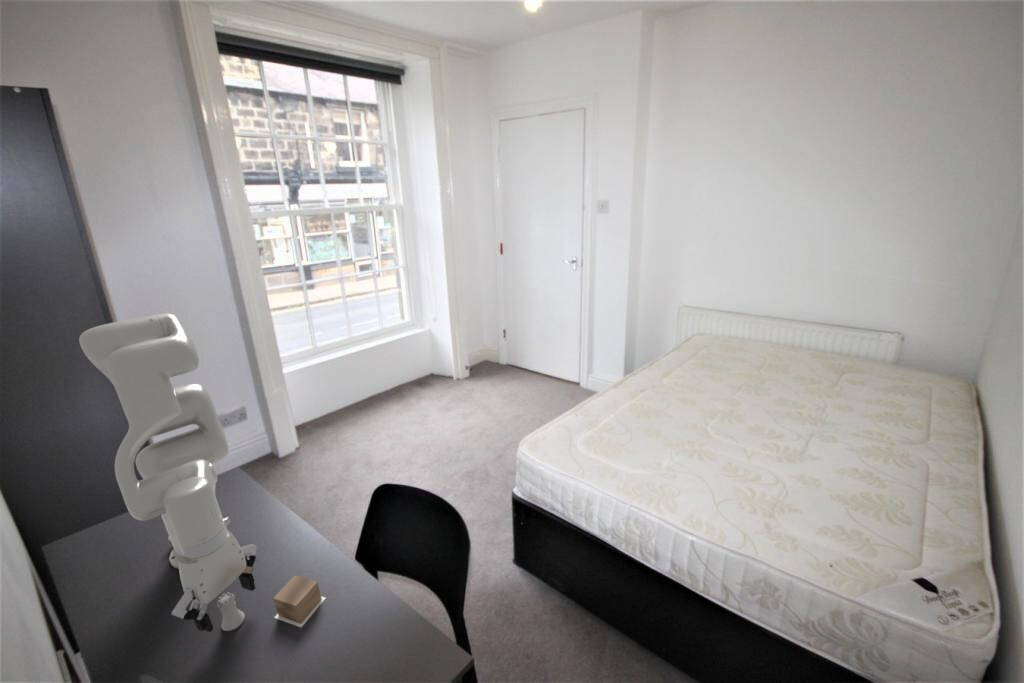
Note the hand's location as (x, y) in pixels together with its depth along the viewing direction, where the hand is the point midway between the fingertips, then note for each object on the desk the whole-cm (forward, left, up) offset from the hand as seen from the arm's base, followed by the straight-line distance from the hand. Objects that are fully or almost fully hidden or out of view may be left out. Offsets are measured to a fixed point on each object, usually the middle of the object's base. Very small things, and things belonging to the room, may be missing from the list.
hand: (228, 607), depth 91 cm
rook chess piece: (-1, 0, -6) cm, 6 cm away
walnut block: (+10, +7, -5) cm, 13 cm away
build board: (+9, +7, -6) cm, 13 cm away
